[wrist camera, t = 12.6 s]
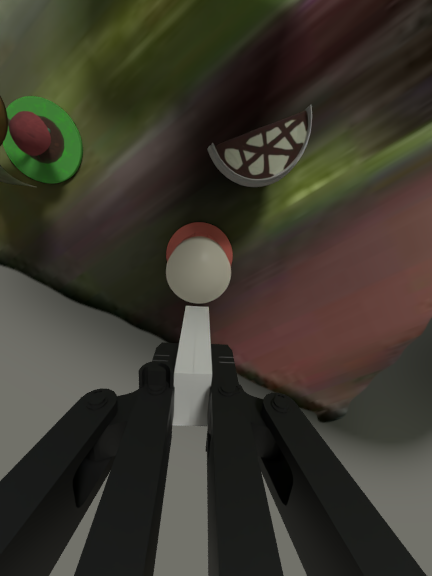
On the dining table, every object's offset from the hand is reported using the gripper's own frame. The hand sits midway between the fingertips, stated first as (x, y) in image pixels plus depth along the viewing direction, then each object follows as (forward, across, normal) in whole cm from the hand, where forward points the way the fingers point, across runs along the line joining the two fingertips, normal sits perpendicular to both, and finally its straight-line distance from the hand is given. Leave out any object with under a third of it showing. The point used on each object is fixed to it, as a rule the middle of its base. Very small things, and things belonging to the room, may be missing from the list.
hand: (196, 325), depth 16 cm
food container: (+26, +7, +14) cm, 30 cm away
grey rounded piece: (+21, 0, 0) cm, 21 cm away
